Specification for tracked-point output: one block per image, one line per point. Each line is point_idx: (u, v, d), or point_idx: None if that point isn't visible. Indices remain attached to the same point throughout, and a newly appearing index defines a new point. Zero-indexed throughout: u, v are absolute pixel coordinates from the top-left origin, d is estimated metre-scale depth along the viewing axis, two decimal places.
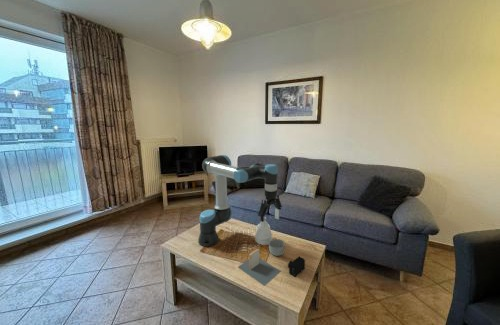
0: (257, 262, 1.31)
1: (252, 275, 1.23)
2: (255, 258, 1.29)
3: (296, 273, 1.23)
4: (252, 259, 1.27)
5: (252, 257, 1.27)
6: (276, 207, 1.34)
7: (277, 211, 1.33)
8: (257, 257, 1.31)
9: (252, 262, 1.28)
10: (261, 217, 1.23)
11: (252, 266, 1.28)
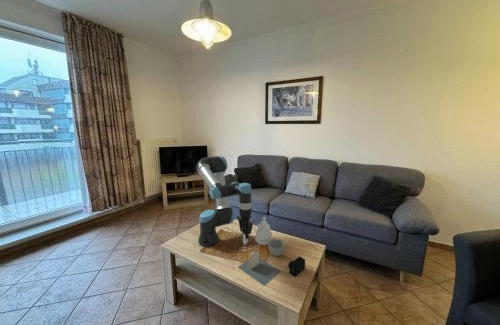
0: (257, 262, 1.31)
1: (252, 275, 1.23)
2: (255, 258, 1.29)
3: (296, 273, 1.23)
4: (252, 259, 1.27)
5: (252, 257, 1.27)
6: None
7: None
8: (257, 257, 1.31)
9: (252, 262, 1.28)
10: None
11: (252, 266, 1.28)
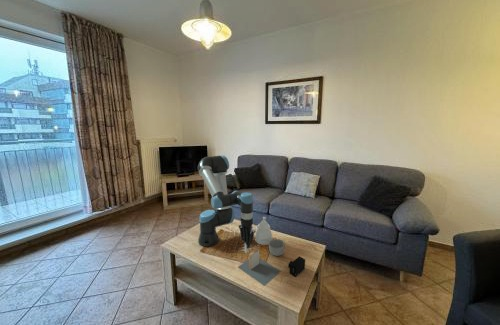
0: (257, 262, 1.31)
1: (252, 275, 1.23)
2: (255, 258, 1.29)
3: (296, 273, 1.23)
4: (252, 259, 1.27)
5: (252, 257, 1.27)
6: None
7: None
8: (257, 257, 1.31)
9: (252, 262, 1.28)
10: None
11: (252, 266, 1.28)
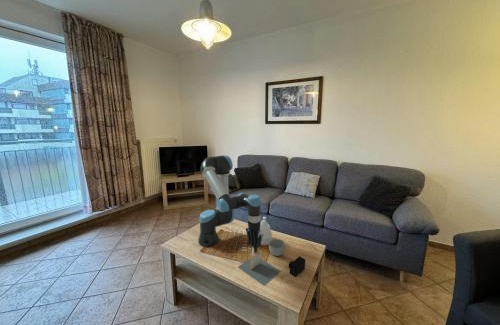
0: (258, 262, 1.31)
1: (252, 275, 1.23)
2: (257, 259, 1.29)
3: (297, 273, 1.23)
4: (254, 260, 1.26)
5: (254, 259, 1.26)
6: None
7: None
8: (259, 258, 1.30)
9: (253, 263, 1.27)
10: None
11: (252, 266, 1.28)
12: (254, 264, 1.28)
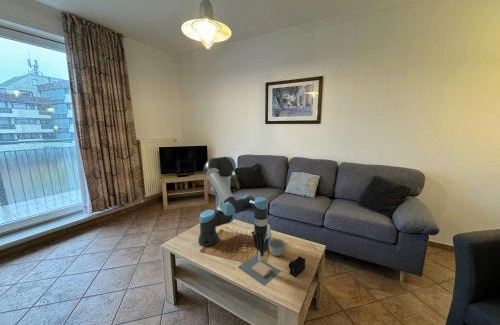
0: None
1: (252, 275, 1.23)
2: None
3: (297, 273, 1.23)
4: None
5: None
6: None
7: None
8: None
9: None
10: None
11: None
12: None
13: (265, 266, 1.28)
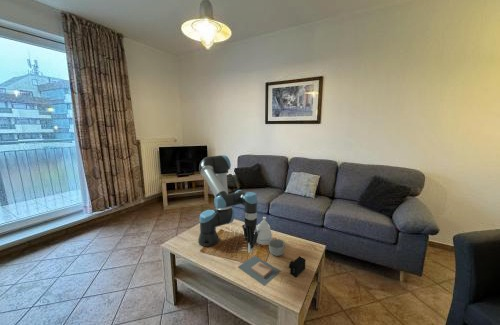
0: None
1: (252, 275, 1.23)
2: None
3: (297, 273, 1.23)
4: None
5: None
6: None
7: None
8: None
9: None
10: None
11: None
12: None
13: (265, 266, 1.28)
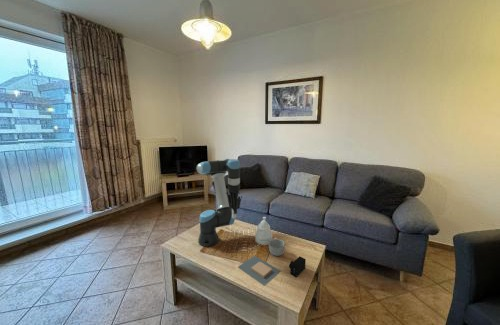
0: None
1: (252, 275, 1.23)
2: None
3: (297, 273, 1.23)
4: None
5: None
6: None
7: None
8: None
9: None
10: None
11: None
12: None
13: (265, 266, 1.28)
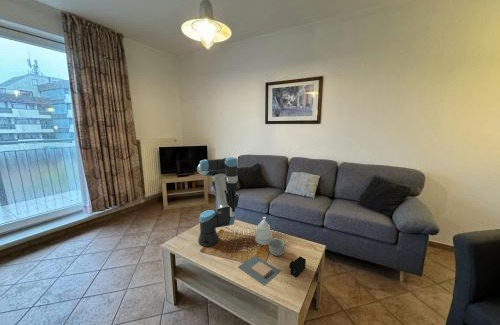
0: None
1: (252, 275, 1.23)
2: None
3: (297, 273, 1.23)
4: None
5: None
6: None
7: None
8: None
9: None
10: (230, 206, 1.38)
11: None
12: None
13: (265, 266, 1.28)
